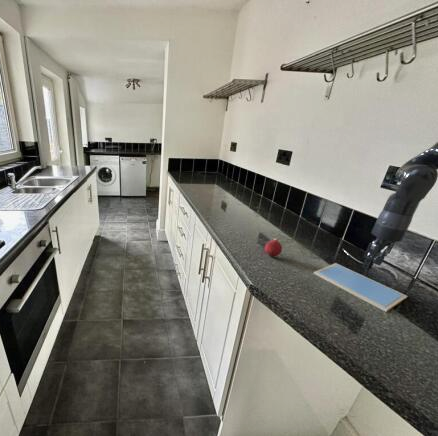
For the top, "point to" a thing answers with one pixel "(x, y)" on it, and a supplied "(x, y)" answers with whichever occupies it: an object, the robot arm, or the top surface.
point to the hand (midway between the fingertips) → (371, 266)
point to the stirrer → (377, 268)
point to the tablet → (361, 286)
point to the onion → (273, 248)
